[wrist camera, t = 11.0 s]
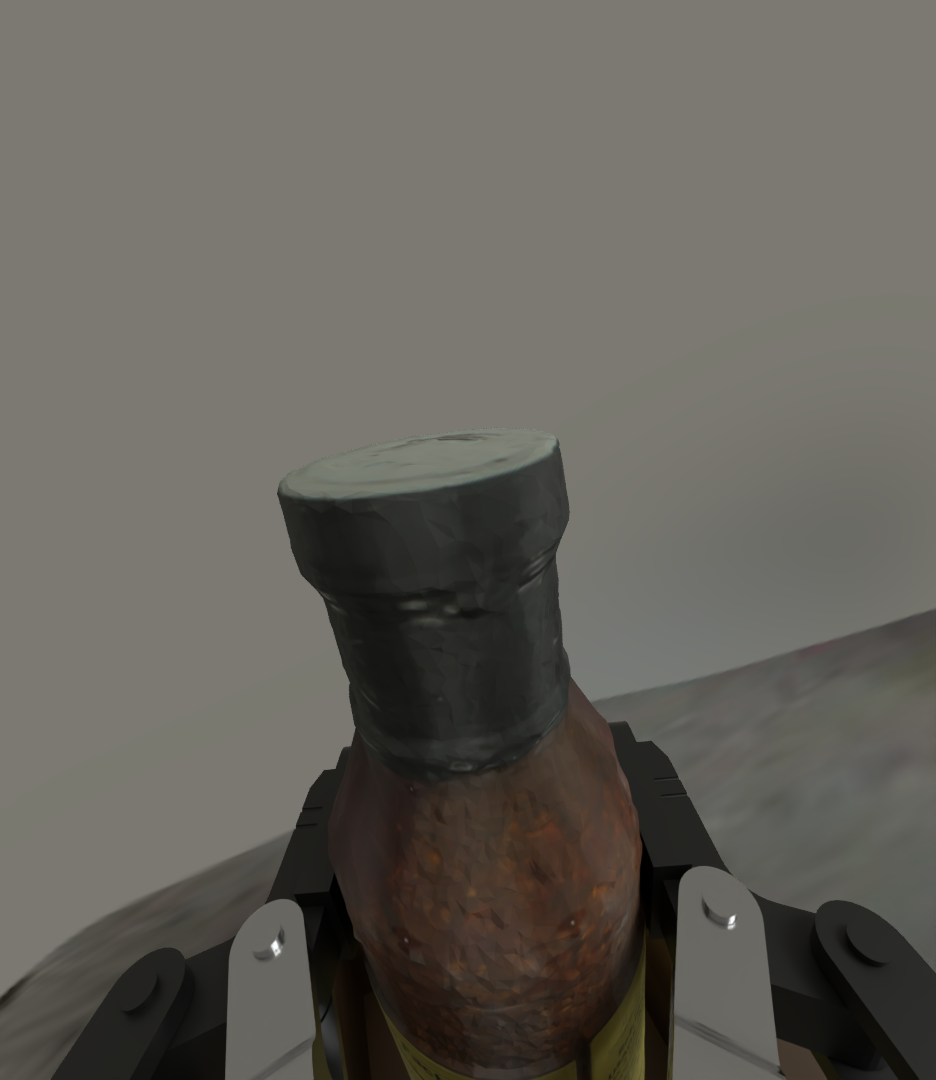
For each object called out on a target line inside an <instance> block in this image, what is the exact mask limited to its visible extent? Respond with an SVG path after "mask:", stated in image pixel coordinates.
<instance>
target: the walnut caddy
mask: <svg viewBox="0 0 936 1080" xmlns="http://www.w3.org/2000/svg"><path fill="white" fill-rule="evenodd" d="M671 979H672V960H671V957H670V954H669V951H668V948H667V945H666V942H665V939H650V938H649V934H648V931H647V928H646V938H645V1035H644V1055H645V1072H644V1080H667V1068H668V1046H669V1023H670V1001H671ZM333 986H334V990H335V995H336V1002H337V1008H338V1015H339V1022H340V1028H341V1035H342V1042H343V1048H344V1055H345V1062H346V1068H347V1075H348V1080H411V1078H410V1076H409V1074H408V1071H407V1069H406V1066H405V1064H404V1062H403V1059H402V1057H401V1054H400V1052H399V1050H398V1047H397V1045H396V1042H395V1040H394V1038H393V1035H392V1033H391V1031H390V1029H389V1027H388V1024H387V1022H386V1019H385V1017H384V1014H383V1012H382V1010H381V1007H380V1005H379V1002H378V1000H377V998H376V995H375V993H374V991H373V988H372V986H371V983H370V980H369V976H368V973H367V970H366V966H365V962H364V957H363V953H362V948H361V942H359V941H358V944H357V949H356V955H355V959H349V960H339V963H338V967H337V972H336V976H335V981H334V985H333ZM776 1040H777V1049H778V1057H779V1062H780V1067H781V1070H782V1072H783V1073H784V1074H785V1076H786V1079H787V1080H827V1078H826V1076H825V1075H824V1073H823V1071H822V1070H821V1068H820V1066H819V1065H818V1063H817V1061H816V1060H815V1058H814V1056H813V1055H812V1053H811V1051H810V1050H808V1049H806V1048H803V1047H800V1046H797V1045H795V1044H792V1043H789V1042H786V1041H784V1040H781V1039H778V1038H776Z"/></svg>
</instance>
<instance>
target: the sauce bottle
mask: <svg viewBox="0 0 936 1080" xmlns="http://www.w3.org/2000/svg"><path fill="white" fill-rule="evenodd" d="M277 495H278V497H279V501H280V505H281V508H282V511H283V515H284V519H285V522H286V526H287V531H288V534H289V538H290V543H291V549H292V552H293V554H294V557H295V560H296V562H297V565H298V567H299V570H300V573H301V575H302V576H303V577H304V578H305V579H306V580H307V581H308V582H309V583H310V584H311V585H312V586H313V587H314V588H315V589H316V590H317V591H318V592H319V594H320V595H321V596H322V597H323V599H324V602H325V605H326V608H327V611H328V616H329V620H330V623H331V626H332V628H333V631H334V635H335V639H336V642H337V645H338V649H339V652H340V655H341V659H342V664H343V667H344V669H345V671H346V674H347V676H348V678H349V681H350V685H349V698H350V704H351V708H352V714H353V720H354V725H355V727H356V729H355V733H354V737H353V741H352V746H351V749H350V753H349V757H348V761H347V765H346V769H345V772H344V776H343V779H342V782H341V784H340V787H339V790H338V793H337V796H336V799H335V802H334V805H333V810H332V813H331V816H330V818H329V821H328V854H329V858H330V861H331V864H332V867H333V870H334V872H335V875H336V878H337V881H338V884H339V887H340V890H341V892H342V895H343V898H344V901H345V904H346V908H347V912H348V915H349V917H350V919H351V922H352V925H353V931H354V937H355V938H356V939H357V940H358V941H359V942H361V948H362V953H363V957H364V962H365V966H366V970H367V973H368V976H369V980H370V983H371V986H372V988H373V991H374V993H375V995H376V998H377V1000H378V1002H379V1005H380V1007H381V1010H382V1012H383V1014H384V1017H385V1019H386V1022H387V1024H388V1027H389V1029H390V1031H391V1033H392V1035H393V1038H394V1040H395V1042H396V1045H397V1047H398V1050H399V1052H400V1054H401V1057H402V1059H403V1062H404V1064H405V1066H406V1069H407V1071H408V1074H409V1076H410V1078H411V1080H644V1072H645V1055H644V1035H645V938H646V905H645V901H644V896H643V893H642V889H641V884H640V869H641V868H640V864H641V857H642V842H641V838H640V831H639V819H638V812H637V810H636V808H635V806H634V804H633V801H632V797H631V792H630V787H629V783H628V781H627V778H626V776H625V774H624V773H623V771H622V769H621V767H620V764H619V762H618V759H617V755H616V751H615V747H614V740H613V736H612V733H611V730H610V727H609V725H608V723H607V721H606V720H605V719H604V718H603V717H602V716H601V715H600V714H599V713H598V712H597V711H596V710H595V708H594V707H593V706H592V704H591V703H590V702H589V700H588V699H587V698H586V696H585V695H584V694H583V692H582V691H581V690H580V688H579V687H578V686H577V684H576V683H575V682H574V680H573V679H572V678H571V676H570V675H571V674H570V665H569V660H568V655H567V653H566V651H565V649H564V648H563V643H562V621H561V612H560V608H559V600H558V597H559V593H558V574H557V565H556V551H557V548H558V545H559V543H560V540H561V538H562V535H563V533H564V531H565V528H566V526H567V523H568V521H569V502H568V496H567V490H566V483H565V477H564V470H563V463H562V458H561V453H560V448H559V441H558V439H557V438H556V437H554V436H553V435H551V434H549V433H547V432H541V431H539V430H532V429H521V428H511V429H501V428H490V429H483V430H469V431H458V432H450V433H444V434H433V435H425V436H414V437H408V438H404V439H398V440H391V441H387V442H383V443H378V444H373V445H369V446H366V447H362V448H358V449H354V450H351V451H347V452H342V453H338V454H335V455H332V456H329V457H326V458H322V459H320V460H317V461H314V462H312V463H310V464H308V465H305V466H303V467H301V468H299V469H297V470H294V471H292V472H290V473H288V474H287V475H286V477H285V478H283V479H282V480H281V482H280V484H279V488H278V493H277Z"/></svg>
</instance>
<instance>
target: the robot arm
mask: <svg viewBox="0 0 936 1080" xmlns="http://www.w3.org/2000/svg"><path fill="white" fill-rule="evenodd" d="M608 725H609V727H610V730H611V733H612V736H613V740H614V747H615V751H616V755H617V759H618V762H619V764H620V767H621V769H622V771H623V773H624V774H625V776H626V778H627V781H628V783H629V787H630V792H631V797H632V801H633V804H634V806H635V808H636V810H637V812H638V819H639V831H640V838H641V842H642V857H641V864H640V868H641V869H640V884H641V889H642V893H643V896H644V901H645V905H646V928H647V931H648V934H649V938H650V939H665V942H666V945H667V948H668V951H669V954H670V957H671V960H672V979H671V1001H670V1023H669V1046H668V1068H667V1080H787V1079H786V1076H785V1074H784V1073H783V1072H782V1070H781V1067H780V1062H779V1057H778V1049H777V1040H776V1038H778V1039H781V1040H784V1041H786V1042H789V1043H792V1044H795V1045H797V1046H800V1047H803V1048H806V1049H808V1050H810V1051H811V1053H812V1055H813V1056H814V1058H815V1060H816V1061H817V1063H818V1065H819V1066H820V1068H821V1070H822V1071H823V1073H824V1075H825V1076H826V1078H827V1080H936V973H935V972H934V971H933V970H932V969H931V967H930V966H929V965H928V964H927V963H926V962H925V961H924V960H923V958H922V957H921V956H920V955H919V954H918V953H917V952H916V951H915V950H914V948H913V947H912V946H911V945H910V944H909V943H908V942H907V941H906V939H905V938H904V937H903V936H902V935H901V934H900V933H899V932H898V931H897V930H896V929H895V928H894V927H893V926H891V925H890V924H889V923H888V922H887V921H885V920H884V919H883V918H881V917H880V916H879V915H877V914H875V913H874V912H872V911H870V910H868V909H866V908H864V907H862V906H860V905H857V904H854V903H852V902H847V901H840V900H835V901H829V902H826V903H824V904H823V905H821V906H820V907H819V909H818V910H817V913H816V914H815V913H812V912H808V911H804V910H801V909H797V908H793V907H789V906H786V905H782V904H778V903H775V902H772V901H769V900H767V899H764V898H762V897H760V896H758V895H757V894H755V893H753V892H752V891H750V890H749V889H747V888H746V887H745V886H744V885H743V884H742V883H741V882H740V881H739V880H737V879H736V878H735V877H734V876H733V875H732V874H731V873H730V872H729V870H728V869H727V868H726V866H725V865H724V863H723V861H722V860H721V858H720V856H719V854H718V852H717V850H716V848H715V846H714V844H713V842H712V840H711V839H710V837H709V835H708V833H707V831H706V829H705V827H704V825H703V823H702V821H701V819H700V817H699V815H698V814H697V812H696V810H695V808H694V806H693V804H692V802H691V800H690V798H689V797H688V796H687V792H686V790H685V789H684V787H683V785H682V783H681V781H680V780H679V778H678V775H677V773H676V771H675V769H674V767H673V765H672V764H671V762H670V760H669V758H668V756H667V755H666V754H664V753H663V752H662V751H661V750H660V749H659V748H658V747H657V746H656V745H655V744H654V743H653V742H652V741H645V742H636V740H635V738H634V735H633V733H632V731H631V729H630V727H629V725H628V723H627V722H626V721H623V722H612V723H608ZM350 749H351V746H349V747H344V748H343V750H342V751H341V754H340V757H339V760H338V763H337V766H336V769H331V770H324V771H323V772H322V774H321V775H320V776H319V777H318V779H317V780H316V781H315V783H314V784H313V785H312V786H311V788H310V790H309V792H308V795H307V797H306V800H305V803H304V806H303V808H302V809H303V810H302V812H301V813H300V816H299V819H298V821H297V824H296V829H295V830H294V832H293V834H292V837H291V840H290V842H289V845H288V847H287V850H286V853H285V855H284V858H283V861H282V863H281V866H280V868H279V871H278V874H277V876H276V879H275V882H274V884H273V887H272V890H271V892H270V895H269V897H268V899H267V901H266V903H265V905H264V906H262V907H261V908H259V909H258V910H257V911H255V912H254V913H253V914H252V915H251V916H250V917H249V918H248V919H247V920H246V922H245V923H244V924H243V926H242V927H241V929H240V930H239V932H238V933H237V935H236V936H235V937H233V938H232V939H230V940H228V941H226V942H224V943H222V944H220V945H217V946H215V947H213V948H211V949H208V950H206V951H204V952H202V953H200V954H197V955H195V956H193V957H191V958H188V959H186V960H185V958H184V957H183V955H182V954H181V953H180V951H178V950H176V949H174V948H162V949H158V950H156V951H153V952H151V953H149V954H147V955H146V956H144V957H143V958H141V959H140V960H138V961H137V962H136V963H135V964H133V965H132V966H131V967H130V968H129V969H128V970H127V971H126V972H125V973H124V974H123V975H122V976H121V977H120V978H119V980H118V981H117V982H116V983H115V985H114V986H113V987H112V989H111V990H110V992H109V993H108V995H107V996H106V998H105V999H104V1001H103V1002H102V1004H101V1005H100V1007H99V1008H98V1010H97V1011H96V1012H95V1014H94V1015H93V1017H92V1018H91V1020H90V1021H89V1023H88V1024H87V1026H86V1027H85V1029H84V1030H83V1032H82V1033H81V1035H80V1036H79V1038H78V1039H77V1041H76V1042H75V1044H74V1045H73V1047H72V1048H71V1050H70V1051H69V1053H68V1054H67V1056H66V1057H65V1059H64V1060H63V1062H62V1063H61V1065H60V1066H59V1068H58V1069H57V1071H56V1072H55V1074H54V1075H53V1077H52V1078H51V1080H348V1075H347V1068H346V1062H345V1055H344V1048H343V1042H342V1035H341V1028H340V1022H339V1015H338V1008H337V1002H336V995H335V990H334V986H333V985H334V981H335V976H336V972H337V967H338V963H339V960H349V959H355V955H356V949H357V944H358V940H357V939H356V938H355V937H354V931H353V925H352V922H351V919H350V917H349V915H348V912H347V908H346V904H345V901H344V898H343V895H342V892H341V890H340V887H339V884H338V881H337V878H336V875H335V872H334V870H333V867H332V864H331V861H330V858H329V854H328V821H329V818H330V816H331V813H332V810H333V805H334V802H335V799H336V796H337V793H338V790H339V787H340V784H341V782H342V779H343V776H344V772H345V769H346V765H347V761H348V757H349V753H350Z"/></svg>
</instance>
